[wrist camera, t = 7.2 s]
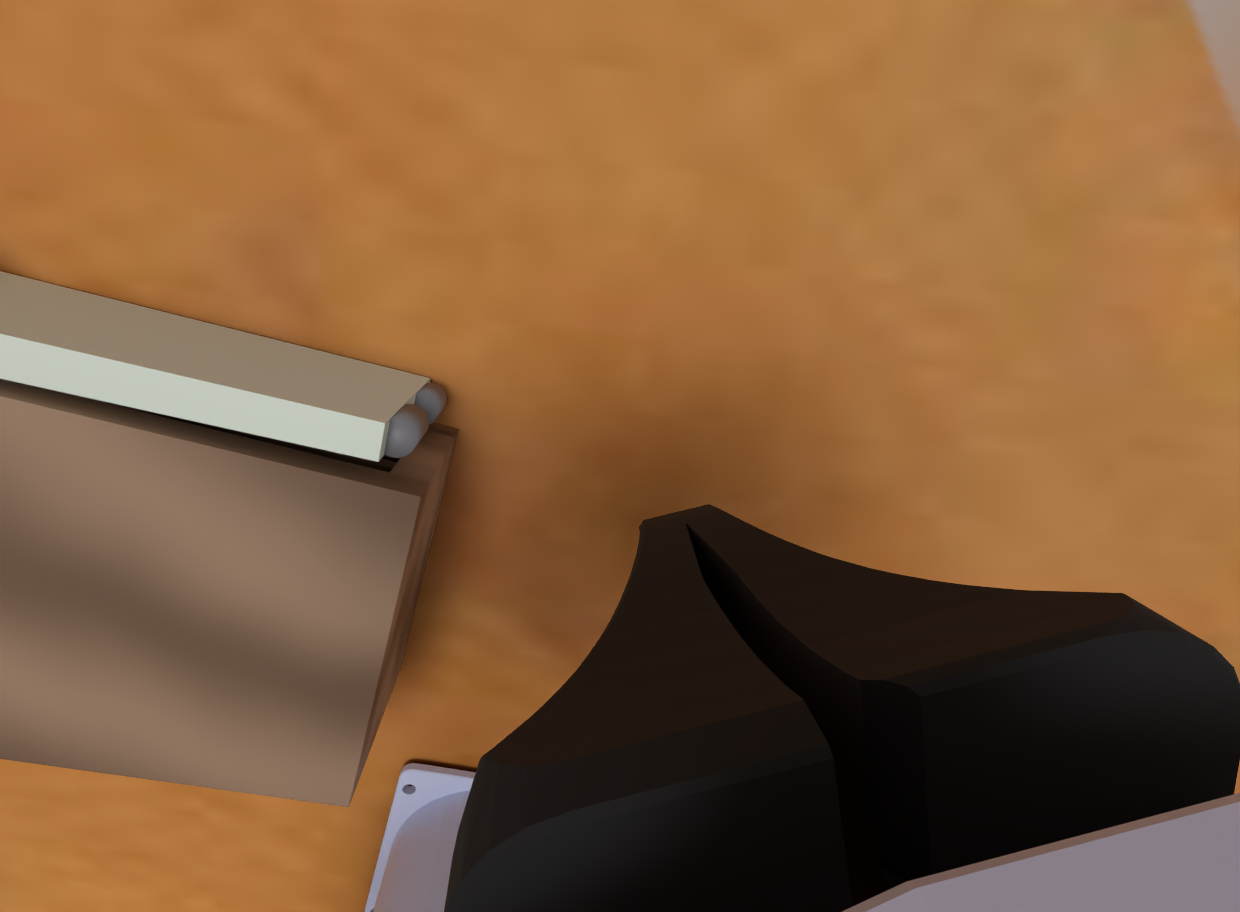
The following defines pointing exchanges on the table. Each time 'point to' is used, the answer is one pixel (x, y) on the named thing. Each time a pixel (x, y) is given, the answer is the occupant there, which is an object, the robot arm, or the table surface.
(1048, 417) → the table surface
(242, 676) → the walnut cabinet
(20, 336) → the cabinet door
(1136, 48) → the table surface
